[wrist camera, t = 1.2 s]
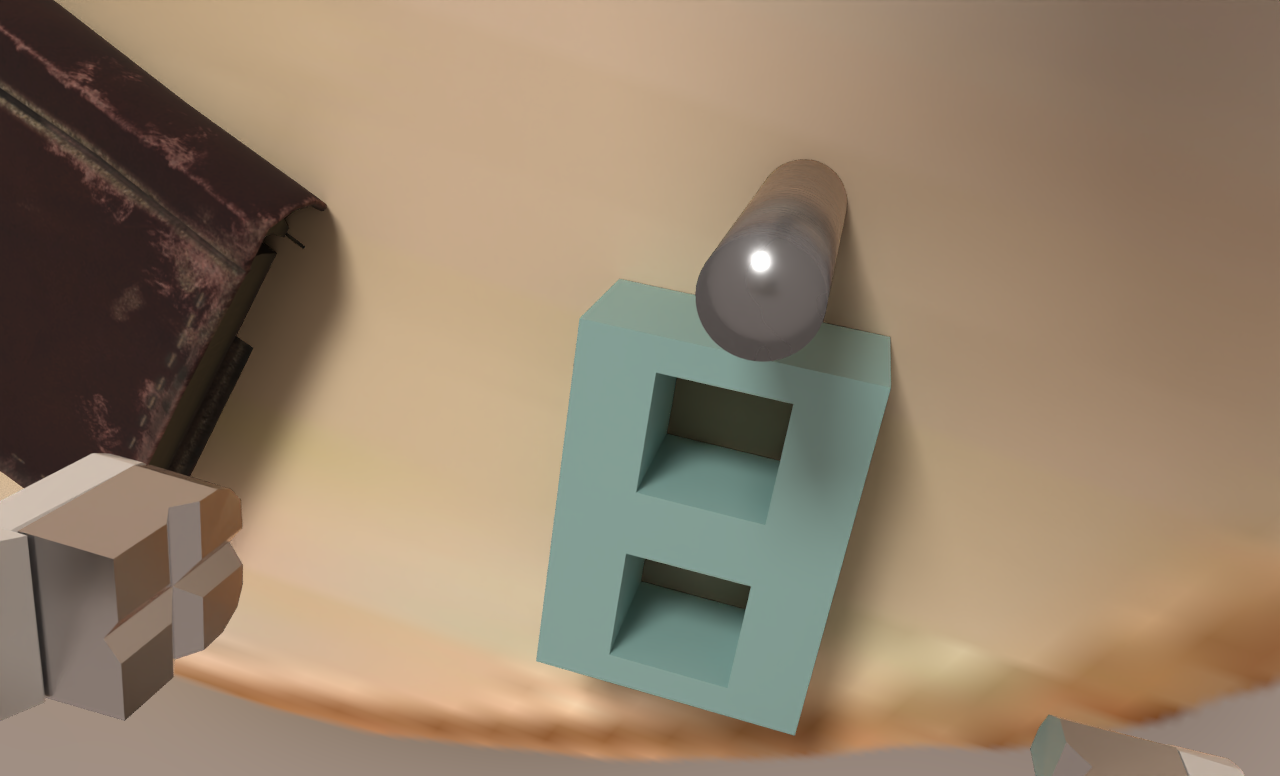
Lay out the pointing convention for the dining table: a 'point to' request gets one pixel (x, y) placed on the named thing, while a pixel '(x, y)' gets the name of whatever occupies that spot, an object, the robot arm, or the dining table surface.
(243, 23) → the dining table surface
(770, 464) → the hole block
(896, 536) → the dining table surface
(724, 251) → the peg
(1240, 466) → the dining table surface
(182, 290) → the diary
